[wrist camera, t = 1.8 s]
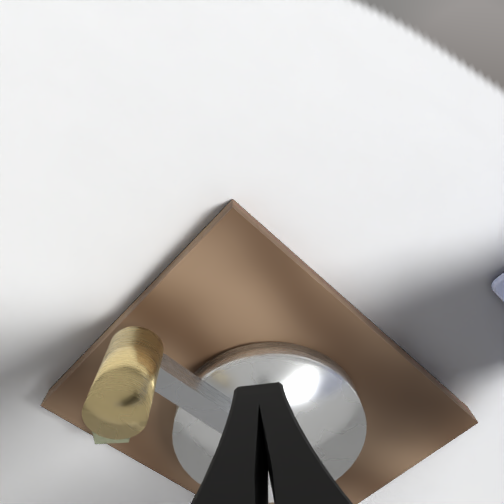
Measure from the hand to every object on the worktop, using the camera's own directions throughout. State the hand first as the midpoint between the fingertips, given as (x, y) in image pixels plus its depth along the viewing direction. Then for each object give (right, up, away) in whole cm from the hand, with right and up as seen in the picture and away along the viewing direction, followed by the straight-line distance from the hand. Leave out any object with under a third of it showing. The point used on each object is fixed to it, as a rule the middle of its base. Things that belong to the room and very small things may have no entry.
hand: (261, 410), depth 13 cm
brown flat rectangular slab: (+1, -4, +12) cm, 13 cm away
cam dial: (-1, -3, +10) cm, 10 cm away
